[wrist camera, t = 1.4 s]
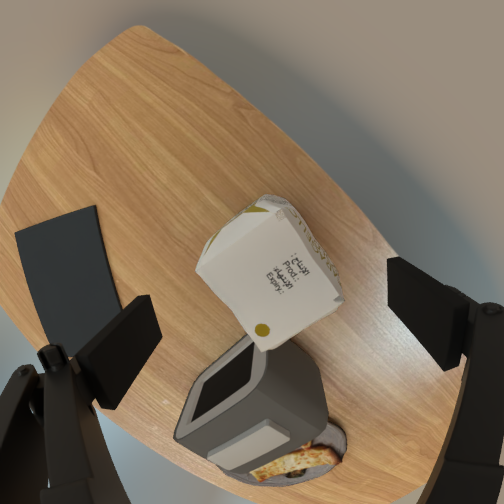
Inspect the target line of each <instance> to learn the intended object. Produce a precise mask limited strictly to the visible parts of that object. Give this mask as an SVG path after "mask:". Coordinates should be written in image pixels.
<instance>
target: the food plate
mask: <svg viewBox="0 0 504 504" xmlns="http://www.w3.org/2000/svg"><path fill="white" fill-rule="evenodd" d="M346 450H347V438H346V434H345V432H344V431H343V429H342V428H341V427H339V426H338V425H336V424H334V423H331V422H330V421H327V426H326V429H325V430H324V431H323V432H322V433H321V434H320V435H319V436H318V437H316V438H315V439H313V440H311V441H310V442H308V443H306V444H304V445H302V446H301V447H299V448H297V449H295V450H293V451H292V452H290V453H288V454H286V455H284V456H282V457H280V458H278V459H276V460H274V461H272V462H270V463H268V464H266V465H264V466H262V467H259V468H257V469H255V470H253V471H251V472H248V473H244V474H237V473H232V472H229V471H227V470H225V469H223V468H221V467H220V466H218V465H216V466H217V467H219V469H220V470H222V471H223V473H225V475H227V476H229V477H232V478H234V479H236V480H238V481H240V482H243V483H246V484H250V485H255V486H272V487H277V486H279V487H284V485H285V486H290V484H291V485H294V484H298V483H302V482H305V481H306V480H307V481H309V480H310V479H311V480H312V479H314V478H318V477H320V476H322V475H324V474H326V473H327V472H329V471H330V470H331V469H332V468H333V467H334V466H336V465H338V464H339V463H342V459H343V456H344V454H345V452H346Z"/></svg>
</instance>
